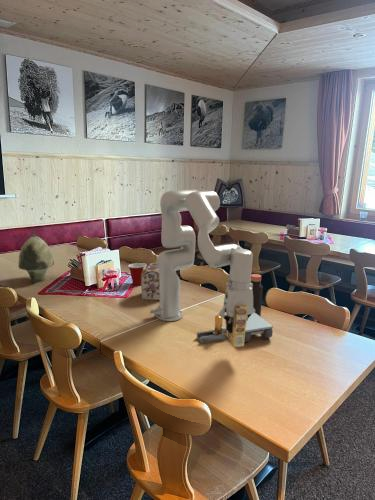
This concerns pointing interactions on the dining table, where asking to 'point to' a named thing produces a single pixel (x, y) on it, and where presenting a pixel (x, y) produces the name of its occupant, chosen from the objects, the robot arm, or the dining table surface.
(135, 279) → the plastic cup
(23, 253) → the potted topiary
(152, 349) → the dining table surface
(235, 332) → the candy box
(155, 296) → the decorative jar
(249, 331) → the trolley
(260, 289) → the bottle
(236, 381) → the dining table surface
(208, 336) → the pin rail
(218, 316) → the stop pin
